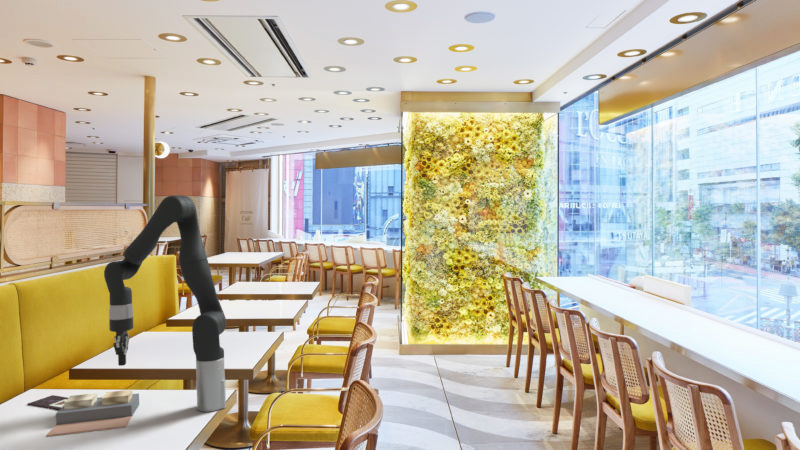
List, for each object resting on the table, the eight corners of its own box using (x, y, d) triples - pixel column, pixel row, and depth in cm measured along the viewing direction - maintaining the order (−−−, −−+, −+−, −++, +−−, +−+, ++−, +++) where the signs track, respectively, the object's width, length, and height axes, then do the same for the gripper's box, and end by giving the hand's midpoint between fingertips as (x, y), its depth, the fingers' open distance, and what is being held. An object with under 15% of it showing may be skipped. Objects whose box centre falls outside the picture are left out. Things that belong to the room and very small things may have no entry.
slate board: (139, 404, 183) (138, 393, 183) (131, 417, 172) (131, 405, 172) (68, 412, 177) (68, 400, 177) (56, 425, 166) (55, 413, 165)
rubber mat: (131, 417, 171) (131, 416, 171) (125, 427, 164) (125, 425, 163) (55, 426, 165) (55, 424, 165) (46, 436, 157) (46, 435, 157)
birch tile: (97, 400, 177) (96, 393, 177) (91, 406, 171) (91, 399, 171) (70, 403, 175) (70, 395, 174) (64, 409, 169) (64, 402, 169)
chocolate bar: (52, 395, 193) (86, 400, 187) (52, 397, 193) (86, 403, 187) (27, 403, 185) (62, 409, 178) (27, 406, 185) (62, 412, 178)
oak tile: (132, 396, 180) (132, 389, 180) (128, 402, 174) (128, 395, 174) (106, 399, 178) (106, 392, 178) (102, 405, 172) (101, 398, 172)
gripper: (128, 319, 178) (129, 369, 178) (136, 312, 191) (137, 359, 191) (104, 321, 176) (105, 371, 176) (114, 313, 189) (115, 360, 189)
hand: (122, 364), depth 184 cm, fingers closed
